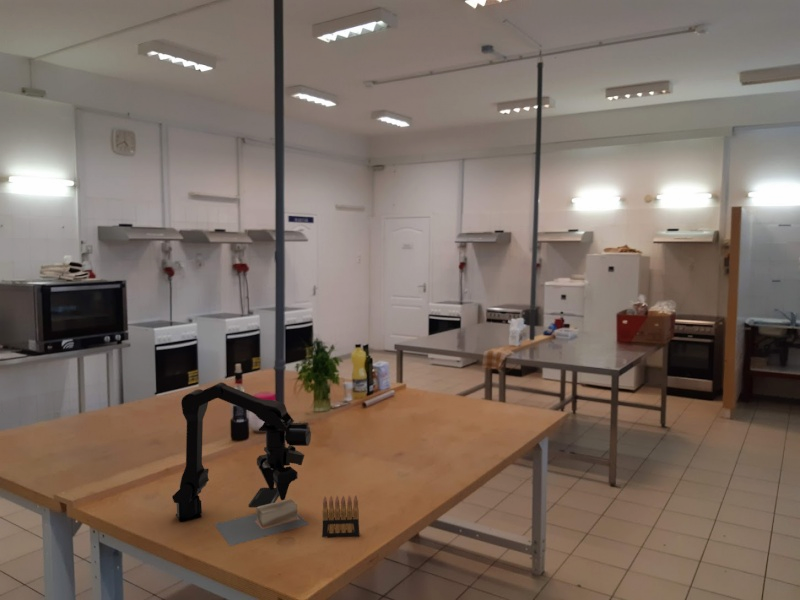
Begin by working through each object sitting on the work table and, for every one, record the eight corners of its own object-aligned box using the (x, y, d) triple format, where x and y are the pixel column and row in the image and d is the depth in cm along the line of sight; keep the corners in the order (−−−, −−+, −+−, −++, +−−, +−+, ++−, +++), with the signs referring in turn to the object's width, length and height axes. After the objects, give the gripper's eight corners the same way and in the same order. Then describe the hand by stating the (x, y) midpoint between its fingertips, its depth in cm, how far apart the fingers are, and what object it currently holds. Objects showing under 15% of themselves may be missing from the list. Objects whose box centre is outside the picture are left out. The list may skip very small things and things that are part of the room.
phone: (283, 487, 209) (271, 506, 194) (283, 491, 209) (271, 509, 194) (260, 487, 209) (247, 505, 195) (260, 490, 210) (247, 509, 195)
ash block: (297, 518, 186) (296, 504, 186) (262, 527, 180) (262, 513, 180) (291, 512, 190) (290, 498, 190) (257, 521, 184) (256, 507, 184)
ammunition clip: (322, 537, 174) (321, 497, 173) (322, 534, 176) (321, 494, 175) (359, 536, 175) (358, 496, 174) (359, 533, 177) (358, 493, 176)
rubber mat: (230, 547, 169) (230, 545, 169) (213, 525, 183) (213, 524, 183) (309, 525, 182) (309, 524, 182) (288, 506, 196) (288, 505, 196)
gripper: (313, 448, 180) (314, 499, 181) (289, 432, 195) (290, 479, 197) (277, 455, 174) (279, 508, 175) (255, 438, 189) (256, 486, 191)
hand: (277, 494), depth 184 cm, fingers open, 9 cm apart
